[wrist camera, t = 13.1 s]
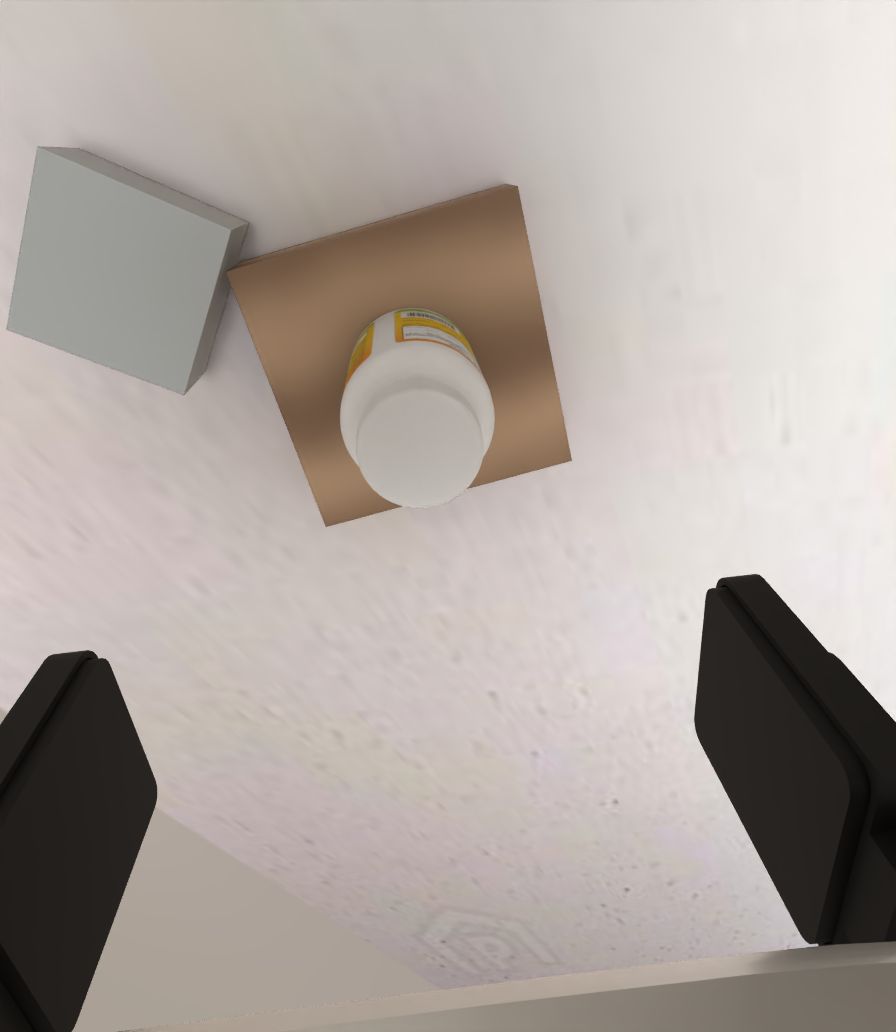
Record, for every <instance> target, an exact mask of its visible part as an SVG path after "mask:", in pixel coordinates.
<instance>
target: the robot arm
mask: <svg viewBox="0 0 896 1032" xmlns="http://www.w3.org/2000/svg"><path fill="white" fill-rule="evenodd" d="M694 721H695V728H696V733H697V736H698V739H699V741H700V743H701V745H702V747H703V749H704V751H705V753H706V755H707V757H708V759H709V760H710V762H711V764H712V766H713V768H714V770H715V772H716V774H717V776H718V778H719V780H720V781H721V783H722V785H723V787H724V789H725V791H726V793H727V795H728V797H729V799H730V801H731V803H732V804H733V806H734V808H735V810H736V812H737V814H738V816H739V818H740V820H741V822H742V824H743V825H744V827H745V829H746V831H747V833H748V835H749V837H750V839H751V841H752V843H753V845H754V847H755V848H756V850H757V852H758V854H759V856H760V858H761V860H762V862H763V864H764V866H765V868H766V869H767V871H768V873H769V875H770V877H771V879H772V881H773V883H774V885H775V887H776V889H777V891H778V892H779V894H780V896H781V898H782V900H783V902H784V904H785V906H786V908H787V910H788V912H789V913H790V915H791V917H792V919H793V921H794V923H795V925H796V927H797V929H798V931H799V932H800V934H801V936H802V937H803V938H804V940H805V941H806V942H807V943H809V944H816V943H818V945H819V946H817V947H807V948H797V949H788V950H778V951H768V952H758V953H748V954H738V955H728V956H719V957H710V958H701V959H693V960H685V961H676V962H668V963H660V964H651V965H643V966H635V967H626V968H618V969H610V970H601V971H593V972H585V973H576V974H568V975H559V976H551V977H543V978H534V979H526V980H518V981H510V982H502V983H494V984H486V985H478V986H470V987H462V988H454V989H446V990H439V991H430V992H422V993H414V994H407V995H398V996H390V997H382V998H375V999H366V1000H358V1001H351V1002H343V1003H335V1004H327V1005H319V1006H312V1007H304V1008H295V1009H287V1010H280V1011H272V1012H265V1013H257V1014H249V1015H242V1016H234V1017H227V1018H219V1019H211V1020H204V1021H196V1022H189V1023H181V1024H174V1025H166V1026H158V1027H150V1028H143V1029H135V1030H128V1031H120V1032H896V722H895V721H894V720H893V719H892V718H891V716H890V715H889V714H888V713H887V712H886V711H885V710H884V709H883V707H882V706H881V705H880V704H879V703H878V702H877V701H876V700H875V698H874V697H873V696H872V695H871V694H870V693H869V692H868V690H867V689H866V688H865V687H864V686H863V685H862V684H861V683H860V681H859V680H858V679H857V678H856V677H855V676H854V675H853V674H852V672H851V671H850V670H849V669H848V668H847V667H846V666H845V665H844V663H843V662H842V661H841V660H840V659H839V658H837V657H836V656H835V655H834V654H832V653H829V652H828V651H827V650H826V649H825V648H824V647H823V646H822V644H821V643H820V642H819V641H818V640H817V639H816V638H815V636H814V635H813V634H812V633H811V632H810V631H809V630H808V628H807V627H806V626H805V625H804V624H803V623H802V622H801V620H800V619H799V618H798V617H797V616H796V615H795V614H794V613H793V611H792V610H791V609H790V608H789V607H788V606H787V605H786V603H785V602H784V601H783V600H782V599H781V598H780V597H779V595H778V594H777V593H776V592H775V591H774V590H773V589H772V587H771V586H770V585H769V584H768V583H767V582H766V581H765V579H764V578H763V577H761V576H760V575H757V574H752V575H743V576H735V577H726V578H721V579H720V580H719V581H718V583H717V586H716V588H711V589H709V590H708V591H707V593H706V600H705V610H704V621H703V631H702V642H701V652H700V663H699V673H698V684H697V694H696V705H695V716H694ZM156 801H157V784H156V781H155V778H154V775H153V773H152V770H151V768H150V765H149V762H148V760H147V757H146V755H145V752H144V750H143V747H142V745H141V742H140V740H139V737H138V734H137V732H136V729H135V727H134V724H133V722H132V719H131V717H130V714H129V712H128V709H127V706H126V704H125V701H124V699H123V696H122V694H121V691H120V689H119V686H118V683H117V681H116V678H115V676H114V673H113V671H112V668H111V666H110V664H109V662H108V661H107V660H106V659H104V658H100V659H98V657H97V655H96V654H95V653H94V652H93V651H89V650H87V651H78V652H69V653H61V654H53V655H50V656H48V657H47V658H46V659H45V661H44V662H43V663H42V665H41V666H40V668H39V669H38V671H37V672H36V674H35V675H34V676H33V678H32V679H31V681H30V682H29V684H28V685H27V687H26V688H25V690H24V691H23V692H22V694H21V695H20V697H19V698H18V700H17V701H16V703H15V704H14V706H13V707H12V708H11V710H10V711H9V713H8V714H7V716H6V717H5V719H4V720H3V722H2V723H1V724H0V1032H72V1030H73V1029H74V1026H75V1024H76V1022H77V1019H78V1017H79V1014H80V1011H81V1009H82V1005H83V1003H84V1000H85V998H86V995H87V992H88V989H89V987H90V984H91V981H92V978H93V975H94V973H95V970H96V967H97V965H98V961H99V959H100V956H101V954H102V951H103V948H104V945H105V943H106V940H107V937H108V934H109V932H110V929H111V926H112V924H113V921H114V918H115V915H116V912H117V910H118V907H119V904H120V902H121V899H122V896H123V893H124V891H125V888H126V885H127V882H128V879H129V877H130V874H131V871H132V869H133V866H134V863H135V860H136V858H137V855H138V852H139V850H140V847H141V844H142V841H143V839H144V836H145V833H146V830H147V828H148V825H149V822H150V819H151V817H152V814H153V811H154V808H155V805H156Z"/></svg>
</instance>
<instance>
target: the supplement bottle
mask: <svg viewBox="0 0 896 1032" xmlns="http://www.w3.org/2000/svg"><path fill="white" fill-rule="evenodd" d="M494 422H495V414H494V406H493V401H492V397H491V393H490V390H489V388H488V385H487V383H486V381H485V378H484V377H483V374H482V372H481V370H480V367H479V365H478V362H477V360H476V358H475V355H474V353H473V351H472V349H471V346H470V344H469V342H468V341H467V339H466V337H465V336H464V334H463V333H462V332H461V331H460V329H459V328H458V327H457V326H456V325H455V324H453V323H452V322H451V321H450V320H448V319H447V318H445V317H444V316H442V315H440V314H438V313H436V312H433V311H430V310H426V309H420V308H404V309H398V310H394V311H392V312H389V313H386V314H384V315H382V316H381V317H379V318H377V319H376V320H375V321H373V322H372V323H371V324H370V325H369V326H368V327H367V328H366V329H365V330H364V331H363V333H362V334H361V335H360V337H359V338H358V340H357V342H356V344H355V346H354V349H353V352H352V355H351V358H350V363H349V367H348V373H347V378H346V382H345V387H344V392H343V396H342V401H341V408H340V426H341V433H342V436H343V440H344V443H345V446H346V448H347V450H348V452H349V454H350V456H351V457H352V459H353V460H354V461H355V463H356V464H357V465H358V466H359V468H360V470H361V473H362V475H363V477H364V478H365V480H366V481H367V483H368V484H369V485H370V486H371V488H372V489H373V490H374V491H375V492H377V493H378V494H379V495H380V496H382V497H383V498H385V499H386V500H388V501H390V502H392V503H395V504H397V505H401V506H404V507H409V508H428V507H435V506H438V505H441V504H444V503H447V502H449V501H451V500H452V499H454V498H456V497H457V496H459V495H460V494H461V493H462V492H464V491H465V490H466V489H467V488H468V487H469V486H470V484H471V483H472V482H473V480H474V479H475V477H476V475H477V474H478V471H479V469H480V466H481V463H482V459H483V457H484V456H485V454H486V452H487V450H488V448H489V446H490V443H491V440H492V436H493V431H494Z"/></svg>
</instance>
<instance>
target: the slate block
mask: <svg viewBox="0 0 896 1032" xmlns="http://www.w3.org/2000/svg"><path fill="white" fill-rule="evenodd" d="M248 224H249V222H247V221H244V220H242V219H240V218H237V217H235V216H233V215H231V214H228V213H226V212H224V211H221V210H219V209H217V208H215V207H212V206H210V205H208V204H205V203H203V202H201V201H199V200H196V199H194V198H192V197H189V196H187V195H185V194H183V193H180V192H178V191H176V190H173V189H171V188H169V187H167V186H164V185H162V184H160V183H157V182H155V181H153V180H151V179H148V178H146V177H144V176H141V175H139V174H137V173H135V172H132V171H130V170H128V169H125V168H123V167H121V166H119V165H116V164H114V163H112V162H109V161H107V160H105V159H103V158H100V157H98V156H96V155H93V154H91V153H89V152H87V151H84V150H82V149H80V148H61V147H37V152H36V158H35V164H34V170H33V176H32V182H31V188H30V193H29V199H28V205H27V211H26V217H25V223H24V229H23V235H22V240H21V246H20V252H19V258H18V264H17V270H16V276H15V281H14V287H13V293H12V299H11V305H10V311H9V317H8V323H7V328H6V330H9V331H11V332H14V333H17V334H20V335H22V336H25V337H28V338H30V339H33V340H36V341H38V342H41V343H44V344H47V345H49V346H52V347H55V348H57V349H60V350H63V351H66V352H68V353H71V354H74V355H76V356H79V357H82V358H84V359H87V360H90V361H93V362H95V363H98V364H101V365H103V366H106V367H109V368H112V369H114V370H117V371H120V372H122V373H125V374H128V375H130V376H133V377H136V378H139V379H141V380H144V381H147V382H149V383H152V384H155V385H158V386H160V387H163V388H166V389H168V390H171V391H174V392H176V393H179V394H182V395H185V394H186V392H187V391H188V390H189V389H190V388H191V387H192V386H193V385H194V383H195V382H196V381H197V380H198V379H199V378H200V377H201V376H202V375H203V373H204V372H205V371H206V367H207V364H208V360H209V357H210V354H211V350H212V347H213V343H214V340H215V337H216V333H217V330H218V326H219V323H220V320H221V316H222V313H223V309H224V306H225V303H226V299H227V296H228V292H229V289H230V286H231V284H230V281H229V278H228V276H227V273H226V271H228V270H229V269H231V268H232V267H234V266H235V265H237V262H238V258H239V255H240V252H241V248H242V245H243V241H244V238H245V235H246V231H247V228H248Z"/></svg>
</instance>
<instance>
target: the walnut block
mask: <svg viewBox="0 0 896 1032" xmlns="http://www.w3.org/2000/svg"><path fill="white" fill-rule="evenodd" d="M226 273H227V276H228V278H229V281H230V284H231V286H232V289H233V291H234V294H235V296H236V299H237V301H238V304H239V307H240V309H241V312H242V314H243V317H244V319H245V322H246V324H247V327H248V329H249V332H250V335H251V337H252V340H253V342H254V345H255V347H256V350H257V352H258V355H259V358H260V360H261V363H262V365H263V368H264V370H265V373H266V375H267V378H268V380H269V383H270V386H271V388H272V391H273V393H274V396H275V398H276V401H277V403H278V406H279V408H280V411H281V414H282V416H283V419H284V421H285V424H286V426H287V429H288V431H289V434H290V437H291V439H292V442H293V444H294V447H295V449H296V452H297V454H298V457H299V459H300V462H301V465H302V467H303V470H304V472H305V475H306V477H307V480H308V482H309V485H310V487H311V490H312V493H313V495H314V498H315V500H316V503H317V505H318V508H319V510H320V513H321V516H322V518H323V521H324V523H325V526H326V527H328V526H331V525H335V524H339V523H342V522H346V521H350V520H354V519H357V518H361V517H365V516H368V515H372V514H376V513H379V512H383V511H387V510H391V509H394V508H398V507H402V506H401V505H397V504H395V503H392V502H390V501H388V500H386V499H385V498H383V497H382V496H380V495H379V494H378V493H377V492H375V491H374V490H373V489H372V488H371V486H370V485H369V484H368V483H367V481H366V480H365V478H364V477H363V475H362V473H361V470H360V468H359V466H358V465H357V464H356V463H355V461H354V460H353V459H352V457H351V456H350V454H349V452H348V450H347V448H346V446H345V443H344V440H343V436H342V433H341V426H340V408H341V401H342V396H343V392H344V387H345V382H346V378H347V373H348V367H349V363H350V358H351V355H352V352H353V349H354V346H355V344H356V342H357V340H358V338H359V337H360V335H361V334H362V333H363V331H364V330H365V329H366V328H367V327H368V326H369V325H370V324H371V323H372V322H373V321H375V320H376V319H377V318H379V317H381V316H382V315H384V314H386V313H389V312H392V311H394V310H398V309H404V308H420V309H426V310H430V311H433V312H436V313H438V314H440V315H442V316H444V317H445V318H447V319H448V320H450V321H451V322H452V323H453V324H455V325H456V326H457V327H458V328H459V329H460V331H461V332H462V333H463V334H464V336H465V337H466V339H467V341H468V342H469V344H470V346H471V349H472V351H473V353H474V355H475V358H476V360H477V362H478V365H479V367H480V370H481V372H482V374H483V377H484V378H485V381H486V383H487V385H488V388H489V390H490V393H491V397H492V401H493V406H494V414H495V422H494V431H493V436H492V440H491V443H490V446H489V448H488V450H487V452H486V454H485V456H484V457H483V459H482V463H481V466H480V469H479V471H478V474H477V475H476V477H475V479H474V480H473V482H472V483H471V484H470V486H469V487H468V488H472V487H476V486H480V485H483V484H487V483H491V482H494V481H498V480H502V479H505V478H509V477H513V476H517V475H520V474H524V473H528V472H531V471H535V470H539V469H543V468H546V467H550V466H554V465H557V464H561V463H565V462H568V461H572V459H571V454H570V449H569V444H568V439H567V434H566V429H565V424H564V419H563V414H562V408H561V403H560V398H559V393H558V388H557V383H556V378H555V373H554V368H553V363H552V358H551V353H550V348H549V343H548V338H547V333H546V327H545V322H544V317H543V312H542V307H541V302H540V297H539V292H538V287H537V282H536V277H535V272H534V267H533V262H532V257H531V252H530V246H529V241H528V236H527V231H526V226H525V221H524V216H523V211H522V206H521V201H520V196H519V191H518V186H515V185H510V184H504V185H501V186H498V187H494V188H491V189H487V190H484V191H481V192H477V193H474V194H470V195H467V196H464V197H460V198H457V199H453V200H450V201H447V202H443V203H440V204H436V205H433V206H430V207H426V208H423V209H419V210H416V211H412V212H409V213H406V214H402V215H399V216H395V217H392V218H389V219H385V220H382V221H378V222H375V223H372V224H368V225H365V226H361V227H358V228H355V229H351V230H348V231H344V232H341V233H338V234H334V235H331V236H327V237H324V238H321V239H317V240H314V241H310V242H307V243H303V244H300V245H297V246H293V247H290V248H286V249H283V250H280V251H276V252H273V253H269V254H266V255H263V256H259V257H256V258H252V259H249V260H246V261H242V262H240V263H238V264H237V265H235V266H234V267H232V268H231V269H229V270H228V271H226ZM468 488H467V489H468Z"/></svg>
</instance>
